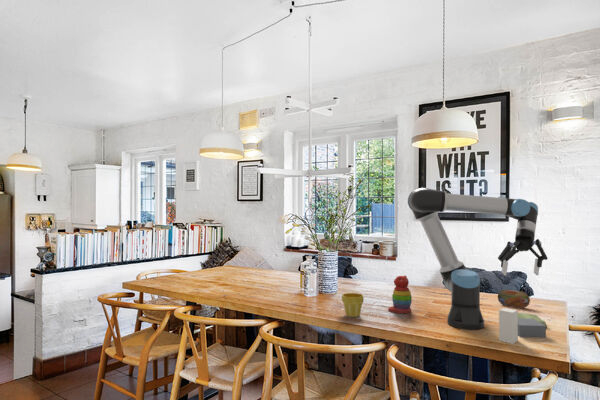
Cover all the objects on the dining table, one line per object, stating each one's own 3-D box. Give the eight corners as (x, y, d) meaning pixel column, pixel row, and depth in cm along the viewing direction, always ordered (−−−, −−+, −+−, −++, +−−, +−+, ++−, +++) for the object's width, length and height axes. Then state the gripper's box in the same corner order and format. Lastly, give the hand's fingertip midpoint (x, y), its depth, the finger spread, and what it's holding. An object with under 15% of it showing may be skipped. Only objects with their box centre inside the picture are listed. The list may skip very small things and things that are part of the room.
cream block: (512, 344, 151) (512, 312, 152) (499, 340, 155) (499, 310, 155) (517, 341, 155) (517, 310, 155) (504, 337, 159) (504, 307, 159)
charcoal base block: (519, 337, 160) (519, 325, 160) (508, 329, 170) (508, 318, 170) (545, 338, 159) (545, 325, 159) (533, 330, 169) (533, 318, 169)
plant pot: (338, 313, 194) (338, 293, 194) (356, 311, 198) (356, 291, 198) (348, 319, 184) (348, 298, 184) (367, 316, 188) (367, 296, 188)
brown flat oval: (497, 304, 212) (497, 288, 212) (499, 303, 215) (499, 288, 215) (529, 309, 202) (529, 293, 202) (530, 308, 204) (530, 292, 205)
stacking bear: (401, 307, 206) (401, 273, 206) (416, 311, 197) (416, 276, 198) (386, 310, 200) (386, 275, 200) (401, 315, 191) (401, 278, 192)
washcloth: (536, 318, 188) (536, 311, 188) (548, 329, 171) (548, 322, 171) (505, 316, 191) (505, 309, 191) (514, 327, 174) (514, 319, 174)
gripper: (559, 234, 173) (554, 277, 163) (502, 239, 193) (495, 278, 183) (551, 225, 170) (546, 268, 160) (494, 231, 190) (487, 270, 180)
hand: (519, 274), depth 172 cm, fingers open, 13 cm apart
